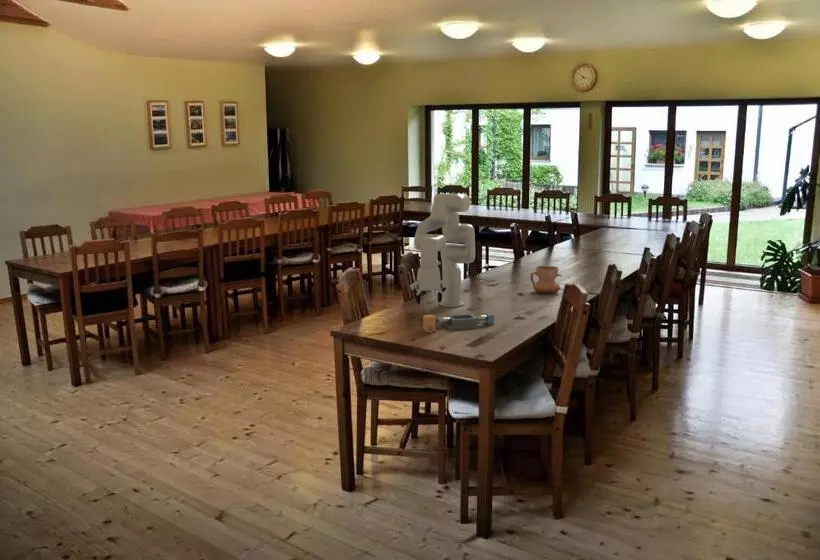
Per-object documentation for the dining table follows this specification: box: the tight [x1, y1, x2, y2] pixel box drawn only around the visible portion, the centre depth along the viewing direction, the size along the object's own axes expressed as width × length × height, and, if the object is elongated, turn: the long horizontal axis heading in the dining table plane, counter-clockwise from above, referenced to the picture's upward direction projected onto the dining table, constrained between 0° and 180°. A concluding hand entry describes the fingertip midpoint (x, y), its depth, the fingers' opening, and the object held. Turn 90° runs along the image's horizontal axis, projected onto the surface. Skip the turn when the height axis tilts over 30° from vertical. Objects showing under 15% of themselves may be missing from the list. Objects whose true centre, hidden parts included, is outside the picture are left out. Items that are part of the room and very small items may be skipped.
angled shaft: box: [434, 315, 450, 328], centre depth 327 cm, size 9×4×4 cm, turn 80°
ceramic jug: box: [529, 265, 563, 295], centre depth 391 cm, size 18×14×14 cm
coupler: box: [422, 314, 436, 333], centre depth 319 cm, size 4×8×7 cm, turn 15°
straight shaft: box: [474, 312, 495, 326], centre depth 330 cm, size 9×4×4 cm, turn 105°
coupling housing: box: [441, 313, 484, 331], centre depth 327 cm, size 11×16×4 cm
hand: (428, 302), depth 317 cm, fingers open, 9 cm apart
